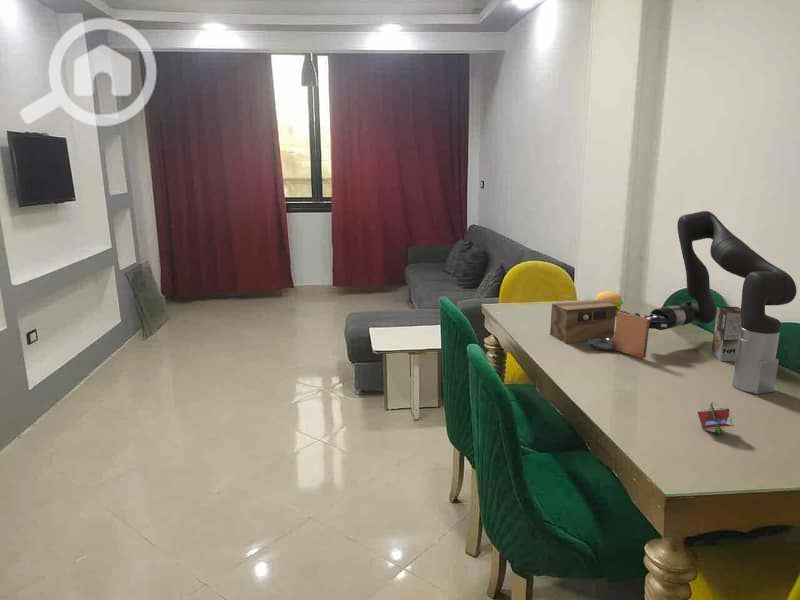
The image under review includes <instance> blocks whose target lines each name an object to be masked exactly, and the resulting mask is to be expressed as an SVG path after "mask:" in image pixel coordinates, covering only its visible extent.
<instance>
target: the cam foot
mask: <svg viewBox="0 0 800 600" xmlns="http://www.w3.org/2000/svg"><path fill="white" fill-rule="evenodd" d="M649 323H650V319H647V318H643V317H639V316H635V314H630V313H626V312H623V311H620V312H617V314H616V317H615V328H614V332H611V334H610V337H595V338H587V341H586V343H587V345H590V346H591V347H592V348H593V349H596V350H599V351H607V352H613V351H618V352H621V353H623V354H626V355H630V356H633V357H635V358H636V357H637V358H639V359H642V360H643V359H646V357H647V350H648V340H649V330H650V329H649Z"/></svg>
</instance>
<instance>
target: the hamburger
mask: <svg viewBox="0 0 800 600" xmlns="http://www.w3.org/2000/svg"><path fill="white" fill-rule="evenodd" d="M598 299H600V300H602V301H605V302H608V303H610V304H613V305H616V315H617V312H622V311H621V309H622V305H623V304H624V300H623V299H622V297H621V295H620V294H618V293H617V292H614V291H611V290H606V291H601V292H599V293H598V294H597V295H596V297H595V298H594V299H593V300H598Z"/></svg>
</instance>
